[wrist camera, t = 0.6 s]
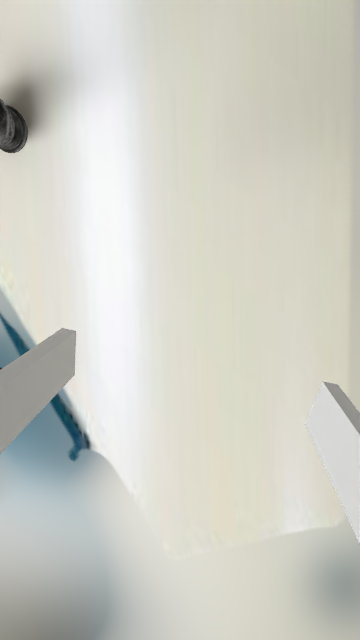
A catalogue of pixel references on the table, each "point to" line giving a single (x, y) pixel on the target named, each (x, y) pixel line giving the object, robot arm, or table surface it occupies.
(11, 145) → the dark grey tapered piece
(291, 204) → the table surface
